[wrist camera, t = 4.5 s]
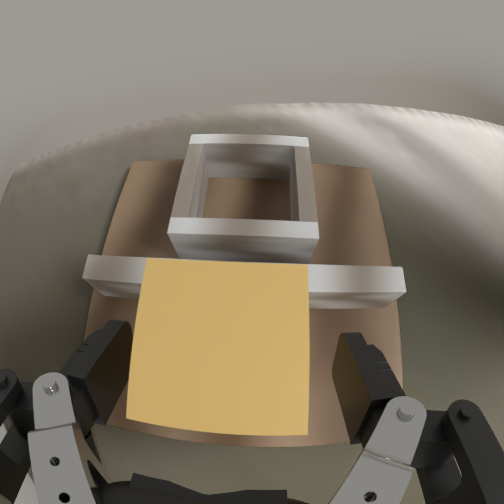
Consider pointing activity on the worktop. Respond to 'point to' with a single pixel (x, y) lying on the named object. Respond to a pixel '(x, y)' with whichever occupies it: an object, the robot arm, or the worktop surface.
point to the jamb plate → (258, 254)
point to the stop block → (222, 348)
